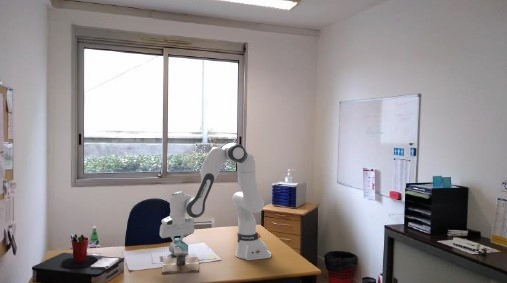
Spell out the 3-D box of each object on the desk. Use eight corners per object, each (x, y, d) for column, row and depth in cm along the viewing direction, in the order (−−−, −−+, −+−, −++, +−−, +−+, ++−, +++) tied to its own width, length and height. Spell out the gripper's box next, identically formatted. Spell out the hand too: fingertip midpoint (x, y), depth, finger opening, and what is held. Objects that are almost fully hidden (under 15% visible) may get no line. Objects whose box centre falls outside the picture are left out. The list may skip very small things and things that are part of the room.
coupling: (182, 248, 218) (182, 237, 218) (192, 256, 205) (192, 244, 205) (169, 250, 214) (169, 239, 214) (179, 258, 201) (179, 246, 201)
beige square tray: (198, 258, 222) (198, 247, 221) (199, 272, 202) (199, 259, 202) (163, 260, 218) (164, 248, 218) (161, 273, 198) (161, 261, 198)
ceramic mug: (172, 258, 222) (173, 245, 222) (168, 253, 229) (168, 241, 229) (189, 255, 228) (189, 243, 227) (184, 251, 235) (185, 239, 235)
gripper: (192, 216, 222) (191, 238, 223) (158, 220, 211) (158, 244, 212) (196, 218, 217) (195, 241, 217) (162, 222, 206) (162, 247, 206)
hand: (177, 243), depth 214 cm, fingers closed on coupling, 2 cm apart
